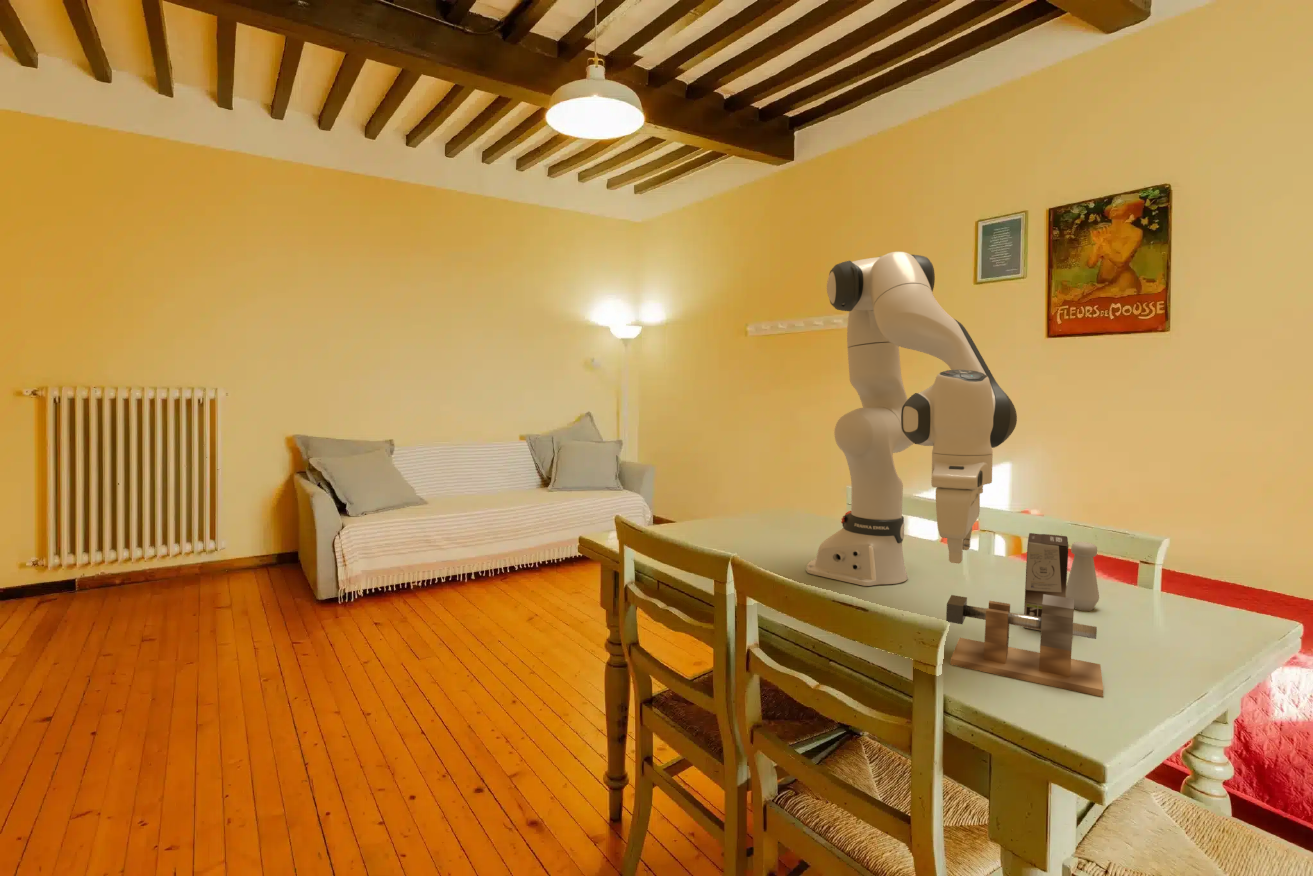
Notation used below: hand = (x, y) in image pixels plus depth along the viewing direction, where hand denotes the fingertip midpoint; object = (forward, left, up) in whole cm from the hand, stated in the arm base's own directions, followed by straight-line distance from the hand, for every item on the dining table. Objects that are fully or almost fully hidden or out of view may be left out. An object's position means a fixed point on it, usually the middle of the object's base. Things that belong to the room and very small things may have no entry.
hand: (959, 555), depth 106 cm
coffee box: (+12, +23, -17) cm, 31 cm away
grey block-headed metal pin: (+9, 0, -11) cm, 14 cm away
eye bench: (+10, 0, -17) cm, 19 cm away
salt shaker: (+18, +37, -17) cm, 45 cm away
